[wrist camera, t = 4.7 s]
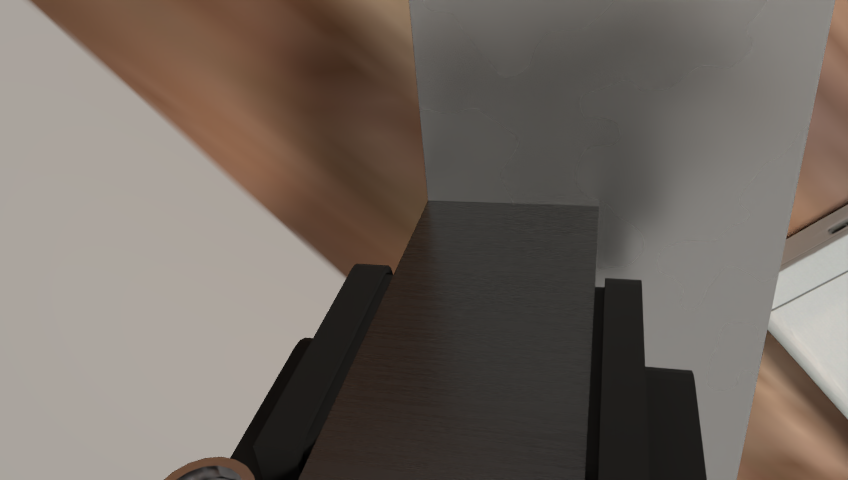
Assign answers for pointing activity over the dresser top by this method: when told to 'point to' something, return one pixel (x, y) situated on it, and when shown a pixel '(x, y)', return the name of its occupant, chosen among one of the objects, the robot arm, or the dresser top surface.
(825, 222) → the hard drive
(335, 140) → the dresser top surface
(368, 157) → the dresser top surface
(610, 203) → the scraper
